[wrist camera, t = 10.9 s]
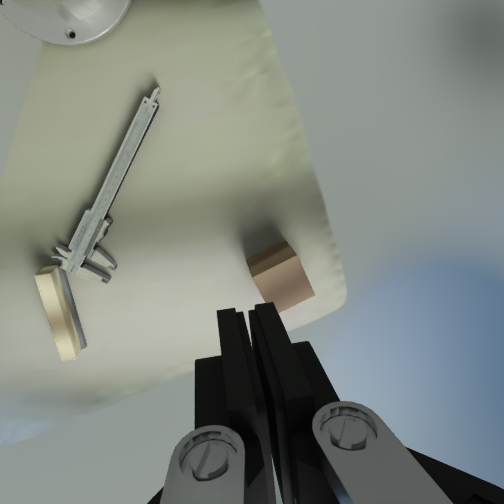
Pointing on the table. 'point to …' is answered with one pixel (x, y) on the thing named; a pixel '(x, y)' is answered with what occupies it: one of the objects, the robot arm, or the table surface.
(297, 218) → the table surface
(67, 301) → the rail
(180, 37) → the table surface
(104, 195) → the caliper
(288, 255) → the walnut block
